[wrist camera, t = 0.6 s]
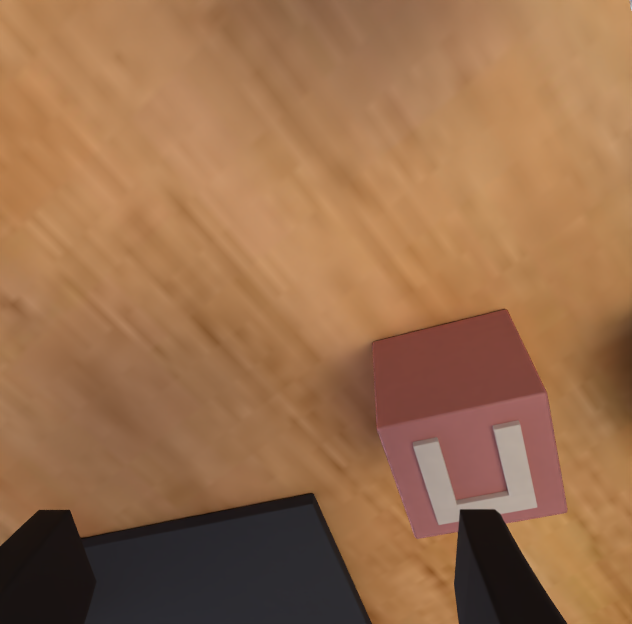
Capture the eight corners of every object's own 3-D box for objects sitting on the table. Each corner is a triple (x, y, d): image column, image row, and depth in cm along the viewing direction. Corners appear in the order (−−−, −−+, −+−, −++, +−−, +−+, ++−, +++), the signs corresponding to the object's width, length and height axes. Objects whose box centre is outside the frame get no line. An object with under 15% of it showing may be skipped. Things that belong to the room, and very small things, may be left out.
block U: (527, 414, 21) (570, 518, 17) (404, 440, 22) (416, 545, 18) (506, 308, 19) (549, 396, 15) (371, 341, 20) (376, 433, 16)
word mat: (378, 638, 28) (379, 650, 28) (-20, 694, 33) (-26, 705, 32) (313, 492, 24) (312, 503, 23) (-137, 581, 28) (-146, 592, 28)
